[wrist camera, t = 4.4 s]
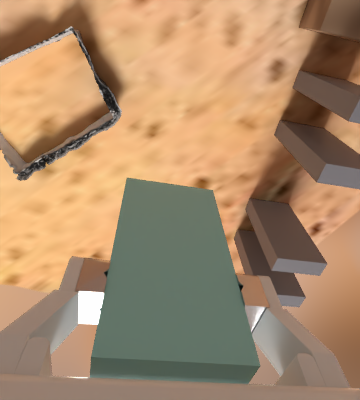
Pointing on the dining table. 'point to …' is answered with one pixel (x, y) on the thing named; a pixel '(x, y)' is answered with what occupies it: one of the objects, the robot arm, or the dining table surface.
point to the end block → (333, 18)
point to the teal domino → (172, 293)
